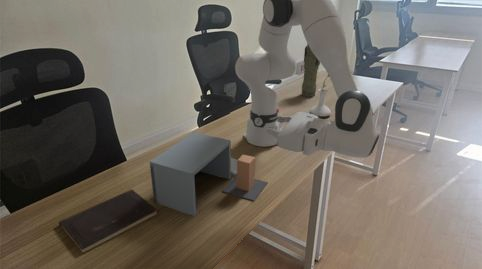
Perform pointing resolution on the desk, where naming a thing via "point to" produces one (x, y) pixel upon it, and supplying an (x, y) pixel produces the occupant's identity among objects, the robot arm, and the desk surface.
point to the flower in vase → (321, 104)
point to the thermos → (309, 73)
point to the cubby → (188, 169)
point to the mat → (250, 194)
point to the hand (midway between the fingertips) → (272, 124)
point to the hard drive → (233, 166)
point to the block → (245, 172)
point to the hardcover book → (107, 219)
